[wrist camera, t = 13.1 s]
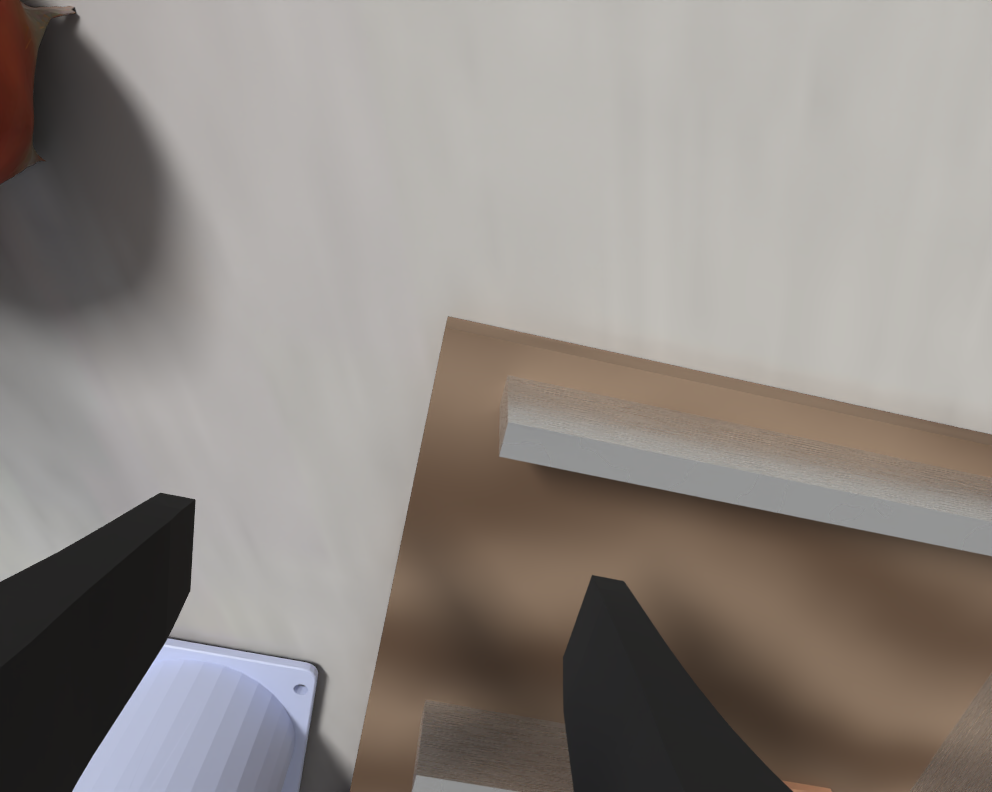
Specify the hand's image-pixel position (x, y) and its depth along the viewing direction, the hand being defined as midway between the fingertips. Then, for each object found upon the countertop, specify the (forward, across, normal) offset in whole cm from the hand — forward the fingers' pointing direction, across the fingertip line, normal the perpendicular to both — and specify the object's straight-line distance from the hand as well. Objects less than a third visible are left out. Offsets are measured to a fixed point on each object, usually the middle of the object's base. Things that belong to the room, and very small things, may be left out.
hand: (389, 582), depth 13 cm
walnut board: (+9, -12, +10) cm, 18 cm away
